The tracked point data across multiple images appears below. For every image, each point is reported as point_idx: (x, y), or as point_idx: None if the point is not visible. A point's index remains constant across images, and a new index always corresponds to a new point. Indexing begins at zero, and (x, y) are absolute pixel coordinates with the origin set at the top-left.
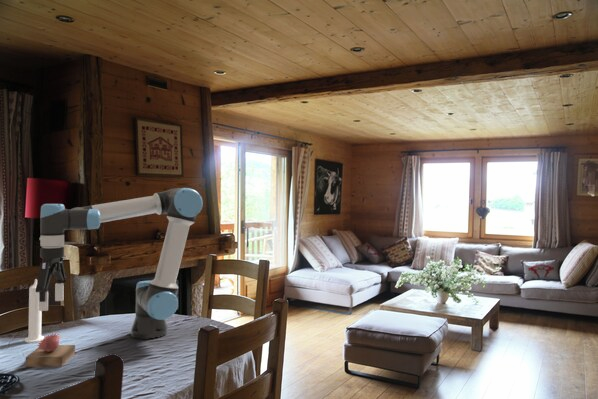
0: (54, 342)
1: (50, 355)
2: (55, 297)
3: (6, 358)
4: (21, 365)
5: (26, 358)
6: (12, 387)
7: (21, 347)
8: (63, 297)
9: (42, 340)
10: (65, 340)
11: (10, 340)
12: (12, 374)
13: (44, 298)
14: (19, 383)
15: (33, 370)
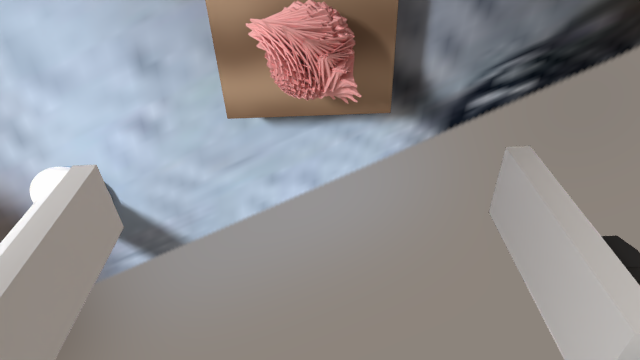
0: (336, 19)
1: (378, 4)
2: (107, 252)
3: (287, 196)
4: (364, 115)
5: (390, 106)
6: (608, 38)
7: (167, 202)
8: (56, 187)
9: (352, 89)
10: (26, 72)
11: (107, 263)
12: (459, 103)
13: (630, 267)
14: (572, 30)
15: (430, 40)
